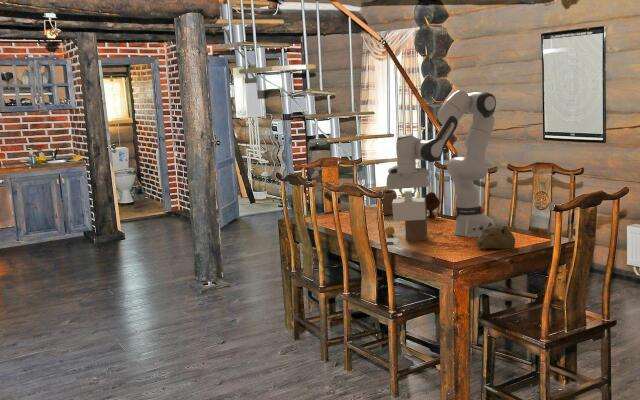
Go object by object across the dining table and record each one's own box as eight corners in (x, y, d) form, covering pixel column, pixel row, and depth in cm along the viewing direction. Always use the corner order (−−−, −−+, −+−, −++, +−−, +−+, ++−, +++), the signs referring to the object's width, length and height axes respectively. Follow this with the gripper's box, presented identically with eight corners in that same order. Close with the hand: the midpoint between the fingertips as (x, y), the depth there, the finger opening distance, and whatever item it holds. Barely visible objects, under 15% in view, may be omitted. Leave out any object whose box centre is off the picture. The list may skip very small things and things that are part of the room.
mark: (398, 238, 353) (398, 238, 353) (397, 244, 341) (397, 243, 341) (379, 239, 354) (379, 238, 354) (377, 244, 343) (377, 244, 343)
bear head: (469, 248, 324) (470, 223, 322) (500, 245, 331) (501, 221, 330) (488, 253, 312) (489, 227, 310) (519, 251, 319) (521, 225, 318)
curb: (393, 244, 342) (393, 241, 342) (393, 244, 341) (393, 241, 341) (381, 244, 343) (381, 241, 343) (381, 244, 342) (381, 242, 342)
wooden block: (425, 240, 345) (424, 200, 342) (405, 240, 347) (404, 201, 344) (427, 236, 355) (426, 197, 351) (407, 236, 357) (406, 197, 354)
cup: (425, 215, 341) (424, 188, 338) (425, 219, 331) (423, 192, 328) (394, 216, 343) (392, 190, 341) (393, 221, 333) (391, 194, 331)
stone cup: (381, 217, 411) (380, 192, 408) (375, 214, 422) (374, 189, 420) (406, 215, 414) (405, 190, 411) (399, 211, 425) (398, 187, 423)
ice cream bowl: (443, 216, 403) (442, 190, 401) (435, 219, 394) (435, 193, 392) (426, 215, 409) (425, 190, 406) (418, 218, 400) (417, 193, 397)
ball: (394, 234, 363) (394, 225, 362) (394, 236, 358) (394, 227, 357) (385, 234, 364) (384, 225, 363) (384, 236, 359) (384, 227, 358)
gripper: (428, 166, 334) (430, 194, 337) (386, 168, 338) (387, 196, 340) (428, 168, 328) (430, 197, 330) (385, 170, 332) (387, 199, 334)
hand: (408, 197), depth 335 cm, fingers closed on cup, 3 cm apart
